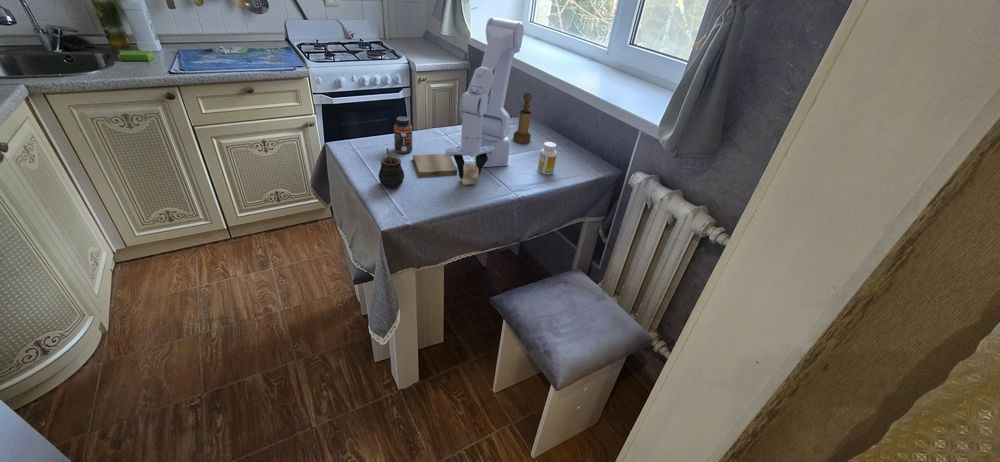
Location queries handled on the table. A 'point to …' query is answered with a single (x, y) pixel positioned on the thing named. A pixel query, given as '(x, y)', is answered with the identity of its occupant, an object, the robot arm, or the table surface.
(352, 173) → the table surface
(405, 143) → the supplement bottle
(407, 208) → the table surface
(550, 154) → the supplement bottle
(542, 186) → the table surface
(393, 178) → the mate gourd
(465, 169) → the maple cube
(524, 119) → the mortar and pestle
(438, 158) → the light brown wooden block
